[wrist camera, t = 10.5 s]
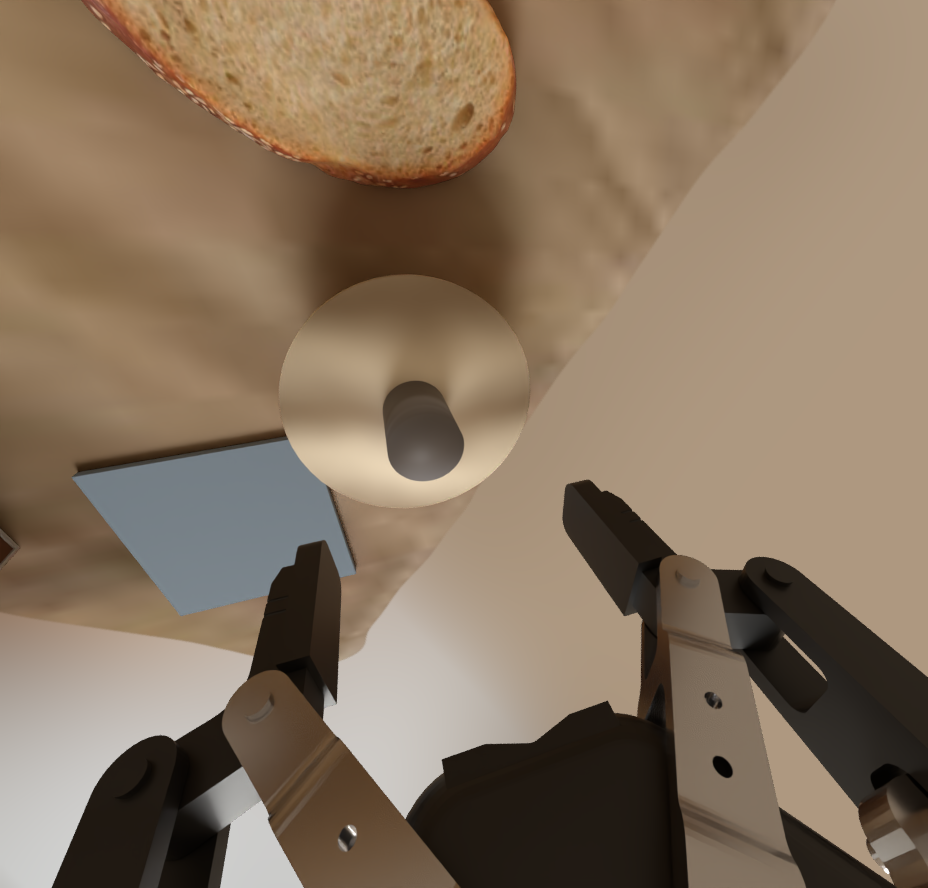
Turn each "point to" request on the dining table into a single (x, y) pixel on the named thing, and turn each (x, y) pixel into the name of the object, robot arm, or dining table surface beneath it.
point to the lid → (404, 391)
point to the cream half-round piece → (6, 548)
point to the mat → (218, 519)
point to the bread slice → (337, 77)
